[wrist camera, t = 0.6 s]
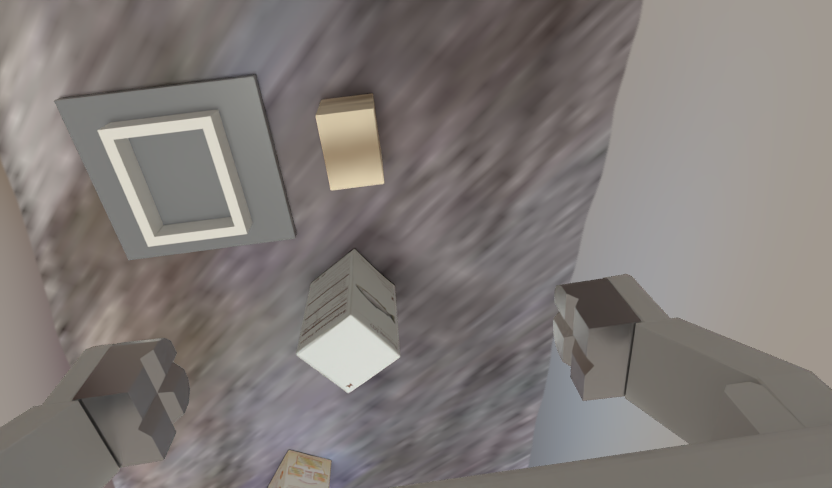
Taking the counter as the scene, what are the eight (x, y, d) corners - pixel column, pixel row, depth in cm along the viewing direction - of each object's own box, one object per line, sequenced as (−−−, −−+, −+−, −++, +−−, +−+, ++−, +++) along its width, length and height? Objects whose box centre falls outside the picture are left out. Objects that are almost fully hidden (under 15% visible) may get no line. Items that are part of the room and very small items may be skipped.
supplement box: (396, 285, 58) (403, 358, 47) (351, 319, 60) (347, 397, 49) (354, 245, 55) (351, 314, 44) (307, 282, 57) (293, 356, 46)
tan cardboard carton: (321, 99, 47) (315, 115, 42) (372, 93, 47) (373, 108, 42) (334, 167, 50) (330, 190, 45) (382, 161, 50) (384, 183, 45)
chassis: (60, 98, 44) (37, 107, 41) (255, 74, 45) (247, 81, 42) (132, 255, 53) (118, 272, 50) (296, 234, 53) (292, 250, 50)
